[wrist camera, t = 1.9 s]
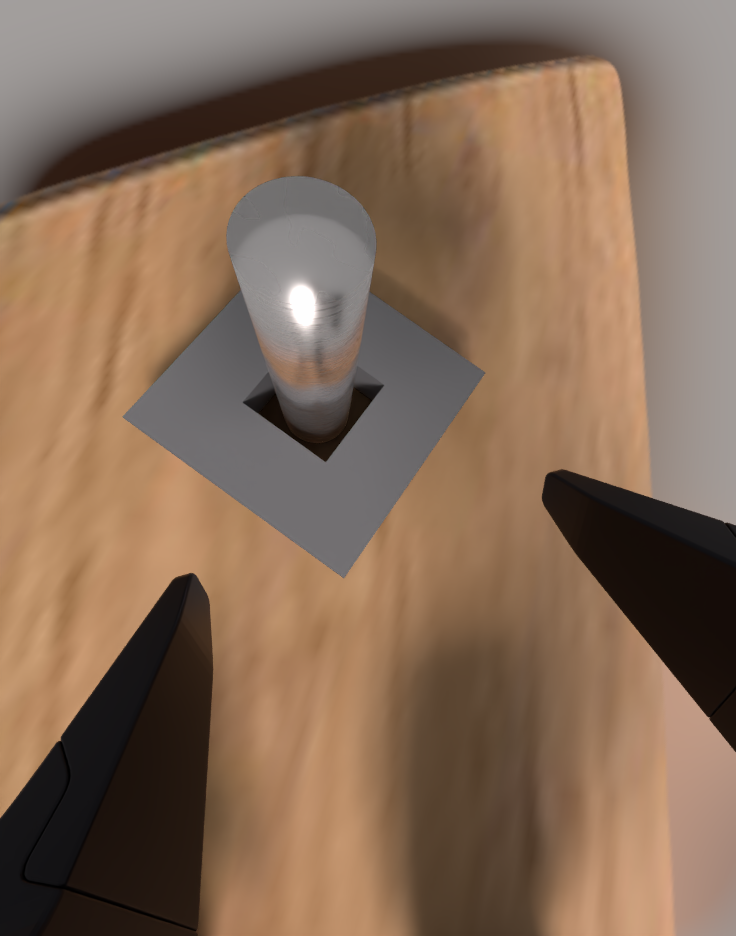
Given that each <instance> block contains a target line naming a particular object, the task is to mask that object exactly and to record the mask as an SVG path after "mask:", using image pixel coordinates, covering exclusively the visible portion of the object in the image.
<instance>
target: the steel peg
mask: <svg viewBox="0 0 736 936" xmlns="http://www.w3.org/2000/svg"><path fill="white" fill-rule="evenodd" d="M227 247H228V252H229V255H230V258H231V261H232V264H233V267H234V270H235V273H236V276H237V279H238V282H239V285H240V288H241V291H242V294H243V297H244V299H245V302H246V305H247V308H248V311H249V314H250V317H251V320H252V323H253V326H254V329H255V332H256V335H257V338H258V341H259V344H260V347H261V350H262V353H263V356H264V359H265V362H266V365H267V368H268V371H269V374H270V377H271V380H272V383H273V386H274V389H275V392H276V395H277V398H278V401H279V404H280V407H281V410H282V413H283V416H284V419H285V422H286V424H287V426H288V428H289V429H290V431H291V432H292V433H293V434H294V435H295V436H296V437H298V438H300V439H301V440H304V441H306V442H310V443H323V442H327V441H330V440H332V439H334V438H335V437H337V436H338V435H339V434H340V433H341V432H342V431H343V429H344V428H345V426H346V424H347V421H348V416H349V410H350V404H351V398H352V392H353V386H354V380H355V374H356V368H357V362H358V356H359V350H360V344H361V338H362V332H363V326H364V320H365V314H366V308H367V302H368V296H369V290H370V284H371V278H372V272H373V266H374V260H375V254H376V234H375V230H374V226H373V224H372V221H371V219H370V217H369V215H368V214H367V212H366V210H365V209H364V208H363V206H362V205H361V204H360V203H359V202H358V201H357V200H356V199H355V198H354V197H353V196H352V195H350V194H349V193H348V192H347V191H345V190H343V189H342V188H340V187H338V186H336V185H334V184H332V183H330V182H327V181H324V180H321V179H317V178H312V177H304V176H291V177H282V178H278V179H274V180H271V181H268V182H265V183H263V184H261V185H259V186H257V187H256V188H254V189H253V190H251V191H250V192H249V193H247V194H246V195H245V196H244V197H243V198H242V199H241V200H240V201H239V203H238V204H237V205H236V207H235V208H234V210H233V212H232V214H231V217H230V219H229V223H228V226H227Z"/></svg>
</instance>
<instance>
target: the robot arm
mask: <svg viewBox="0 0 736 936" xmlns="http://www.w3.org/2000/svg"><path fill="white" fill-rule="evenodd" d="M542 501H543V504H544V506H545V508H546V509H547V511H548V513H549V514H550V516H551V517H552V519H553V520H554V522H555V523H556V525H557V526H558V528H559V529H560V531H561V532H562V534H563V536H564V537H565V539H566V540H567V542H568V543H569V545H570V546H571V548H572V549H573V550H574V552H575V553H576V555H577V556H578V557H579V558H580V560H581V561H582V562H583V563H584V565H585V566H586V567H587V568H588V570H589V571H590V572H591V573H592V575H593V576H594V577H595V578H596V580H597V581H598V582H599V583H600V584H601V586H602V587H603V588H604V589H605V591H606V592H607V593H608V594H609V596H610V597H611V598H612V599H613V601H614V602H615V603H616V604H617V606H618V607H619V608H620V609H621V610H622V612H623V613H624V614H625V615H626V617H627V618H628V619H629V620H630V622H631V623H632V624H633V625H634V627H635V628H636V629H637V630H638V631H639V633H640V634H641V635H642V636H643V638H644V639H645V640H646V641H647V643H648V644H649V645H650V646H651V648H652V649H653V650H654V651H655V653H656V654H657V655H658V656H659V657H660V659H661V660H662V661H663V662H664V664H665V665H666V666H667V667H668V668H669V670H670V671H671V672H672V674H673V675H674V676H675V677H676V678H677V680H678V681H679V682H680V683H681V685H682V686H683V687H684V688H685V690H686V691H687V692H688V693H689V695H690V696H691V697H692V698H693V699H694V701H695V702H696V703H697V704H698V706H699V707H700V708H701V709H702V711H703V712H704V713H705V714H706V716H707V717H710V718H709V719H710V721H711V722H712V723H713V725H714V726H715V727H716V728H717V729H718V730H719V732H720V733H721V734H722V736H723V737H724V738H725V739H726V741H727V742H728V743H729V744H730V746H731V747H732V748H733V749H734V751H735V752H736V525H733V524H730V523H724V522H723V521H721V520H717V519H715V518H711V517H708V516H705V515H702V514H699V513H696V512H693V511H690V510H687V509H684V508H680V507H677V506H674V505H672V504H668V503H665V502H662V501H659V500H656V499H653V498H650V497H647V496H644V495H641V494H638V493H635V492H632V491H629V490H625V489H622V488H619V487H616V486H613V485H610V484H607V483H604V482H601V481H598V480H595V479H592V478H589V477H586V476H583V475H579V474H576V473H573V472H570V471H567V470H563V469H561V470H557V471H553V472H550V473H548V474H547V475H546V477H545V482H544V488H543V493H542ZM212 683H213V653H212V636H211V619H210V604H209V598H208V595H207V593H206V592H205V590H204V588H203V586H202V585H201V583H200V581H199V579H198V578H197V576H196V575H195V574H194V573H189V574H185V575H182V576H178V577H176V578H174V579H173V580H172V582H171V583H170V584H169V586H168V587H167V589H166V590H165V591H164V593H163V594H162V596H161V597H160V598H159V600H158V601H157V603H156V604H155V605H154V607H153V608H152V610H151V611H150V612H149V614H148V615H147V617H146V618H145V619H144V621H143V622H142V624H141V625H140V626H139V628H138V629H137V631H136V632H135V633H134V635H133V636H132V638H131V639H130V640H129V642H128V643H127V645H126V646H125V647H124V649H123V650H122V652H121V653H120V654H119V656H118V657H117V659H116V660H115V661H114V663H113V664H112V666H111V667H110V668H109V670H108V671H107V673H106V674H105V675H104V677H103V678H102V680H101V681H100V682H99V684H98V685H97V687H96V688H95V689H94V691H93V692H92V694H91V695H90V696H89V698H88V699H87V701H86V702H85V703H84V705H83V706H82V708H81V709H80V711H79V712H78V713H77V715H76V716H75V718H74V719H73V720H72V722H71V723H70V725H69V726H68V727H67V729H66V730H65V732H64V733H63V734H62V736H61V741H58V742H57V743H56V744H55V745H54V747H53V748H52V749H51V751H50V752H49V754H48V755H47V756H46V758H45V759H44V761H43V762H42V763H41V765H40V766H39V768H38V769H37V770H36V772H35V773H34V774H33V776H32V777H31V778H30V780H29V781H28V782H27V784H26V785H25V787H24V788H23V789H22V791H21V792H20V793H19V795H18V796H17V797H16V799H15V800H14V801H13V803H12V804H11V805H10V806H9V808H8V809H7V810H6V812H5V813H4V814H3V815H2V817H1V818H0V936H198V932H196V931H197V929H198V919H199V902H200V886H201V869H202V852H203V835H204V818H205V801H206V784H207V768H208V751H209V734H210V717H211V700H212Z"/></svg>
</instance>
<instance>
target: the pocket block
mask: <svg viewBox="0 0 736 936" xmlns="http://www.w3.org/2000/svg"><path fill="white" fill-rule="evenodd" d="M484 374H485V372H484V371H482V370H481V369H479V368H478V367H477V366H475V365H474V364H472V363H471V362H469V361H468V360H467V359H465V358H464V357H462V356H461V355H459V354H458V353H457V352H455V351H454V350H452V349H451V348H449V347H448V346H446V345H445V344H444V343H442V342H441V341H439V340H438V339H436V338H435V337H434V336H432V335H431V334H429V333H428V332H426V331H425V330H424V329H422V328H421V327H419V326H418V325H416V324H415V323H414V322H412V321H411V320H409V319H408V318H406V317H405V316H404V315H402V314H401V313H399V312H398V311H396V310H395V309H394V308H392V307H391V306H389V305H388V304H386V303H385V302H383V301H382V300H381V299H379V298H378V297H376V296H375V295H373V294H372V293H371V292H369V296H368V302H367V308H366V314H365V320H364V326H363V332H362V338H361V344H360V350H359V356H358V362H357V368H356V374H355V380H354V386H353V387H354V388H356V389H357V390H359V391H360V392H361V393H363V394H364V395H366V396H367V397H368V398H370V399H371V400H373V401H372V402H371V403H370V405H369V406H368V407H367V409H366V410H365V411H364V413H363V414H362V415H361V417H360V418H359V419H358V421H357V422H356V423H355V425H354V426H353V427H352V429H351V430H350V431H349V432H348V434H347V435H346V436H345V438H344V439H343V440H342V442H341V443H340V444H339V446H338V447H337V448H336V450H335V451H334V452H333V454H332V455H331V456H330V458H329V459H328V460H327V461H326V462H325V461H323V460H322V459H320V458H319V457H318V456H316V455H315V454H313V453H312V452H311V451H309V450H308V449H306V448H305V447H304V446H302V445H301V444H299V443H298V442H297V441H295V440H294V439H293V438H291V437H290V436H288V435H287V434H286V433H284V432H283V431H281V430H280V429H279V428H277V427H276V426H274V425H273V424H272V423H270V422H269V421H267V420H266V419H265V418H263V417H262V416H260V415H259V414H258V413H259V412H260V411H261V410H262V409H263V407H264V406H265V405H266V404H267V403H268V401H269V400H270V399H271V398H272V397H273V395H274V394H275V393H276V392H275V389H274V386H273V383H272V380H271V377H270V374H269V371H268V368H267V365H266V362H265V359H264V356H263V353H262V350H261V347H260V344H259V341H258V338H257V335H256V332H255V329H254V326H253V323H252V320H251V317H250V314H249V311H248V308H247V305H246V302H245V299H244V297H243V294H242V291H241V290H240V292H239V293H238V294H237V295H236V296H235V297H234V298H233V299H232V300H231V301H230V302H229V303H228V304H227V305H226V307H225V308H224V309H223V310H222V311H221V312H220V313H219V314H218V315H217V316H216V317H215V318H214V319H213V320H212V322H211V323H210V324H209V325H208V326H207V327H206V328H205V329H204V330H203V331H202V332H201V333H200V334H199V335H198V337H197V338H196V339H195V340H194V341H193V342H192V343H191V344H190V345H189V346H188V347H187V348H186V349H185V350H184V352H183V353H182V354H181V355H180V356H179V357H178V358H177V359H176V360H175V361H174V362H173V363H172V364H171V365H170V367H169V368H168V369H167V370H166V371H165V372H164V373H163V374H162V375H161V376H160V377H159V378H158V379H157V380H156V381H155V383H154V384H153V385H152V386H151V387H150V388H149V389H148V390H147V391H146V392H145V393H144V394H143V395H142V396H141V398H140V399H139V400H138V401H137V402H136V403H135V404H134V405H133V406H132V407H131V408H130V409H129V410H128V411H127V413H126V414H125V415H124V416H123V418H124V419H126V420H127V421H128V422H130V423H131V424H132V425H134V426H135V427H137V428H138V429H139V430H141V431H142V432H143V433H145V434H146V435H148V436H149V437H150V438H152V439H153V440H154V441H156V442H157V443H159V444H160V445H161V446H163V447H164V448H165V449H167V450H168V451H170V452H171V453H172V454H174V455H175V456H176V457H178V458H179V459H181V460H182V461H183V462H185V463H186V464H187V465H189V466H190V467H192V468H193V469H194V470H196V471H197V472H198V473H200V474H201V475H203V476H204V477H205V478H207V479H208V480H209V481H211V482H212V483H214V484H215V485H216V486H218V487H219V488H220V489H222V490H223V491H225V492H226V493H227V494H229V495H230V496H231V497H233V498H234V499H236V500H237V501H238V502H240V503H241V504H242V505H244V506H245V507H247V508H248V509H249V510H251V511H252V512H253V513H255V514H256V515H258V516H259V517H260V518H262V519H263V520H264V521H266V522H267V523H269V524H270V525H271V526H273V527H274V528H275V529H277V530H278V531H280V532H281V533H282V534H284V535H285V536H286V537H288V538H289V539H291V540H292V541H293V542H295V543H296V544H297V545H299V546H300V547H302V548H303V549H304V550H306V551H307V552H308V553H310V554H311V555H312V556H314V557H315V558H317V559H318V560H319V561H321V562H322V563H323V564H325V565H326V566H328V567H329V568H330V569H332V570H333V571H334V572H336V573H337V574H339V575H340V576H341V577H343V578H344V577H345V576H346V574H347V573H348V572H349V570H350V569H351V567H352V566H353V564H354V563H355V561H356V560H357V558H358V557H359V556H360V554H361V553H362V551H363V550H364V548H365V547H366V545H367V544H368V543H369V541H370V540H371V538H372V537H373V535H374V534H375V532H376V531H377V529H378V528H379V527H380V525H381V524H382V522H383V521H384V519H385V518H386V516H387V515H388V513H389V512H390V511H391V509H392V508H393V506H394V505H395V503H396V502H397V500H398V499H399V498H400V496H401V495H402V493H403V492H404V490H405V489H406V487H407V486H408V484H409V483H410V482H411V480H412V479H413V477H414V476H415V474H416V473H417V471H418V470H419V468H420V467H421V466H422V464H423V463H424V461H425V460H426V458H427V457H428V455H429V454H430V453H431V451H432V450H433V448H434V447H435V445H436V444H437V442H438V441H439V439H440V438H441V437H442V435H443V434H444V432H445V431H446V429H447V428H448V426H449V425H450V423H451V422H452V421H453V419H454V418H455V416H456V415H457V413H458V412H459V410H460V409H461V408H462V406H463V405H464V403H465V402H466V400H467V399H468V397H469V396H470V394H471V393H472V392H473V390H474V389H475V387H476V386H477V384H478V383H479V381H480V380H481V378H482V377H483V376H484Z"/></svg>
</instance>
